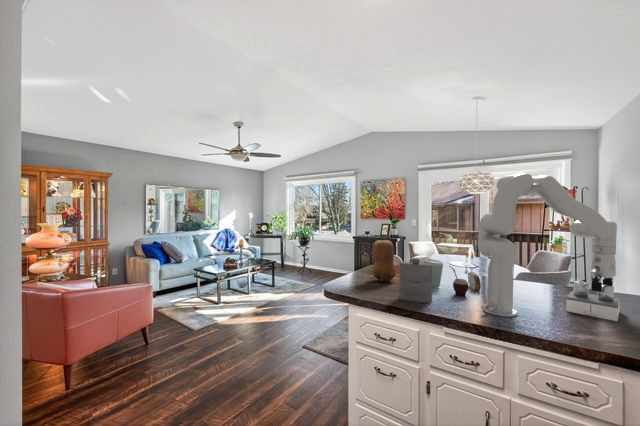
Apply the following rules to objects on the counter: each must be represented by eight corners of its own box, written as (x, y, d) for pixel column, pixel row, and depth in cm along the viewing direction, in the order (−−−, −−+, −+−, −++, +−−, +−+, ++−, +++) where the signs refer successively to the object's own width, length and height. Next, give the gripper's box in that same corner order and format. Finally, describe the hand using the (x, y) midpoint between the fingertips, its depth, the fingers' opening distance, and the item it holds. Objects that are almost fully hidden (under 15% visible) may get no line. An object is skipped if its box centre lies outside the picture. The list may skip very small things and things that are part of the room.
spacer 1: (584, 298, 130) (585, 284, 130) (571, 295, 135) (571, 281, 135) (590, 296, 132) (590, 283, 132) (576, 293, 137) (577, 280, 137)
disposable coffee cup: (444, 286, 171) (445, 259, 171) (441, 290, 162) (441, 262, 162) (425, 283, 177) (426, 258, 176) (421, 287, 168) (421, 260, 167)
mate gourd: (471, 296, 151) (471, 267, 150) (459, 298, 148) (460, 268, 148) (459, 292, 158) (459, 264, 157) (447, 294, 155) (448, 265, 155)
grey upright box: (398, 299, 145) (399, 258, 144) (399, 296, 150) (400, 256, 150) (431, 303, 139) (432, 260, 139) (431, 300, 145) (432, 258, 145)
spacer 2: (610, 302, 125) (610, 287, 124) (595, 299, 129) (595, 284, 129) (615, 300, 127) (616, 286, 127) (600, 297, 131) (601, 283, 131)
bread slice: (481, 292, 159) (481, 276, 159) (474, 292, 160) (475, 276, 159) (472, 285, 174) (472, 270, 174) (466, 285, 174) (467, 270, 174)
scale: (617, 322, 119) (618, 306, 119) (565, 311, 130) (566, 297, 130) (619, 312, 131) (619, 298, 130) (571, 303, 142) (571, 290, 142)
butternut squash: (382, 277, 190) (382, 238, 189) (400, 282, 179) (400, 240, 179) (367, 281, 181) (368, 239, 180) (385, 285, 170) (386, 241, 170)
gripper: (605, 252, 121) (603, 294, 122) (624, 250, 129) (622, 290, 129) (582, 249, 128) (580, 289, 128) (602, 248, 136) (600, 286, 136)
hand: (601, 290), depth 129 cm, fingers open, 9 cm apart
